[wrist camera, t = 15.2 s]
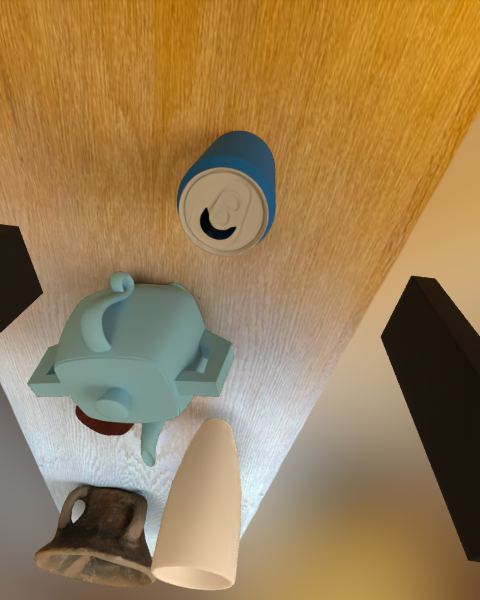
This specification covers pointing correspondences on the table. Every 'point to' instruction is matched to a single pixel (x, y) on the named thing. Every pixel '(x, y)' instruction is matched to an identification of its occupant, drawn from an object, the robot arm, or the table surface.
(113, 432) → the donut
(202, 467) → the cup
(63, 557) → the brown clay pot
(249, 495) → the table surface
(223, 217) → the beverage can
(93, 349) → the teapot
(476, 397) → the robot arm
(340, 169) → the table surface
